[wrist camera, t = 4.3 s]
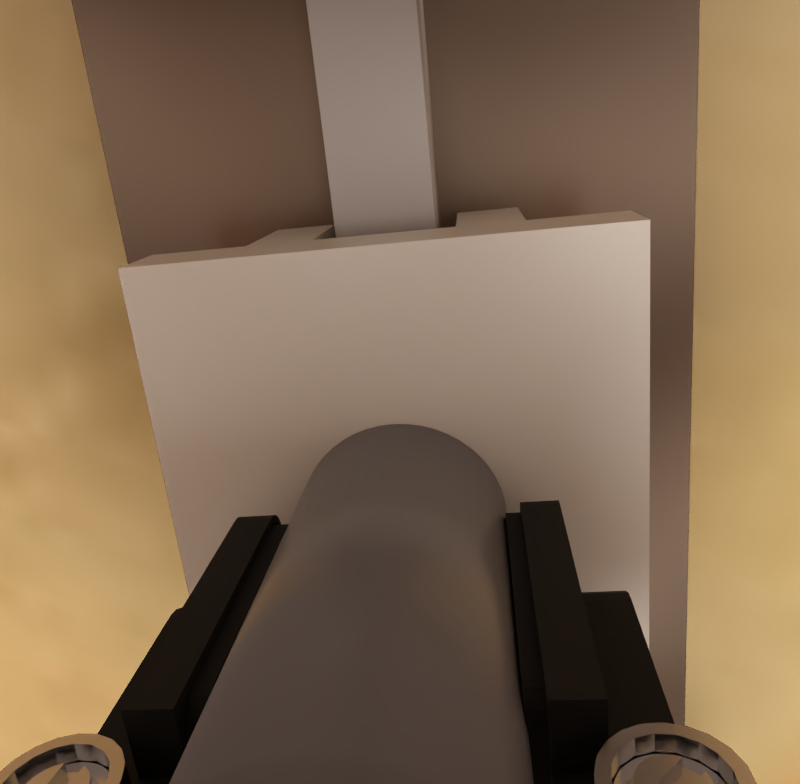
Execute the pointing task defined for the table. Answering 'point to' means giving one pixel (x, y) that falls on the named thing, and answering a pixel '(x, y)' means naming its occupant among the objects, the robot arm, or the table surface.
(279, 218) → the rail track
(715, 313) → the table surface
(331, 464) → the carriage
